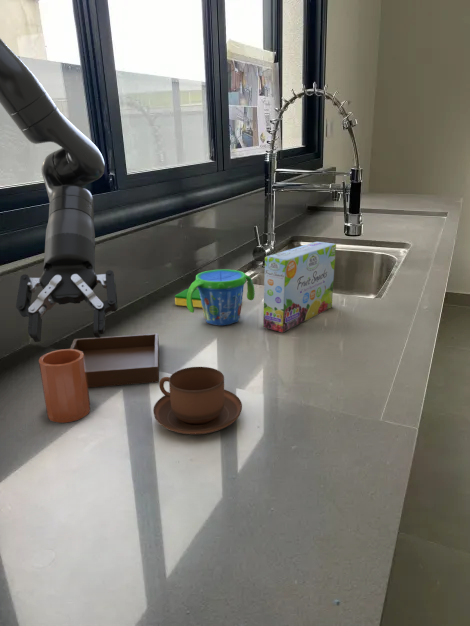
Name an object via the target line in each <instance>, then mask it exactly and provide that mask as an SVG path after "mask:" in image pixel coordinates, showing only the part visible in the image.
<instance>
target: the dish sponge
mask: <svg viewBox="0 0 470 626" xmlns="http://www.w3.org/2000/svg"><path fill="white" fill-rule="evenodd" d="M188 290H189V287H188V288H186V289H184V290H182V291H181V292H179V293H177V294H175V295H174V304H175V306H181V307H187V302H186V301H187V293H188ZM192 302H193V308H201V309H203V308H202V303H201V298H200V292H199V289H198V288H196V289H195V291H194V292H193V294H192Z"/></svg>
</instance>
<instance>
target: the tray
mask: <svg viewBox="0 0 470 626" xmlns="http://www.w3.org/2000/svg"><path fill="white" fill-rule="evenodd" d="M69 349H76V350H79V351H82V352H83V353H84V358H85V366H86V374H87V382H88V389H89V388H101V387H103V388H104V387H115V386H127V385H141V384H150V383H152V384H153V383H159V382H160V339H159V333H157V332H156V333H143V334H142V333H141V334H128V335H112V336H111V335H110V336H101V337H100V338H95V337H83V338H74V339H73V341H72V343H71V345H70V347H69Z"/></svg>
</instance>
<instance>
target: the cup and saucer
mask: <svg viewBox="0 0 470 626" xmlns="http://www.w3.org/2000/svg"><path fill="white" fill-rule="evenodd" d="M166 382H168V386H169V391H167V390H166V389H165V385H164V384H165V383H166ZM158 386H159V390H160V392H161V393H162V395H163V396H161V397H160V398H159V399H158V400H157V401H156V402H155V403H154V406H153V410H152V411H153V416H154V419H155V420H156V421H157V423H158V424H159V425H160V426H162V427H164V429H167V430H169V431H170V432H174V433H178V434H183V435H206V434H211V433H215V432H219V431H221V430H223V429H225V428H227V427H229V426H230V425H232V424H233V423H234V422H236V420H237V419H238V418H239V417H240V416H241V413H242V411H243V410H242V409H243V402H242V401H241V399H240V397H238V396H237V395H236V394H235V393H233V392H232V391H229V390H227V389H225V375H224V373H222V371H220V370H219V369H216V368H214V367H209V366H190V367H186V368H181V369H179V370H177V371H175V372H173V373H172V374H171V375H170V376H163V377H162V378H161V379H159V382H158Z"/></svg>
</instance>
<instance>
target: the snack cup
mask: <svg viewBox="0 0 470 626" xmlns="http://www.w3.org/2000/svg"><path fill="white" fill-rule="evenodd" d="M245 285H246V286H247V291H246V298H247V300H249V301H253V300H254V299H255V296H256V295H255V292H256V291H255V286H254V282H253V279H252V278H251V277H250V276H249V275H248V274H246V273H245V272H243V271H241V270H238V269H237V270H236V269H227V268H225V269H222V268H220V269H211V270H205V271H202V272H199V273H197V274H196V275H195V280H193V282H192V283H191V284H190V286H189V287H188V288H189V290H188V293H187V301H186V302H187V306H186V307H187V310H188V311H189V312H190V313H192V314H193V313H195V307H193V302H192V294H193V292H194V291H195V289H199V292H200V298H201V303H202V308H201V309H202V312H203V318H204V320H205V321H206V323H207V324H210V325H214V326H228V325H229V326H230V325H233V324H235V323H238V322H239V320H240V318H241V314H242V313H241V312H242V304H243V296H244V286H245Z"/></svg>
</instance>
